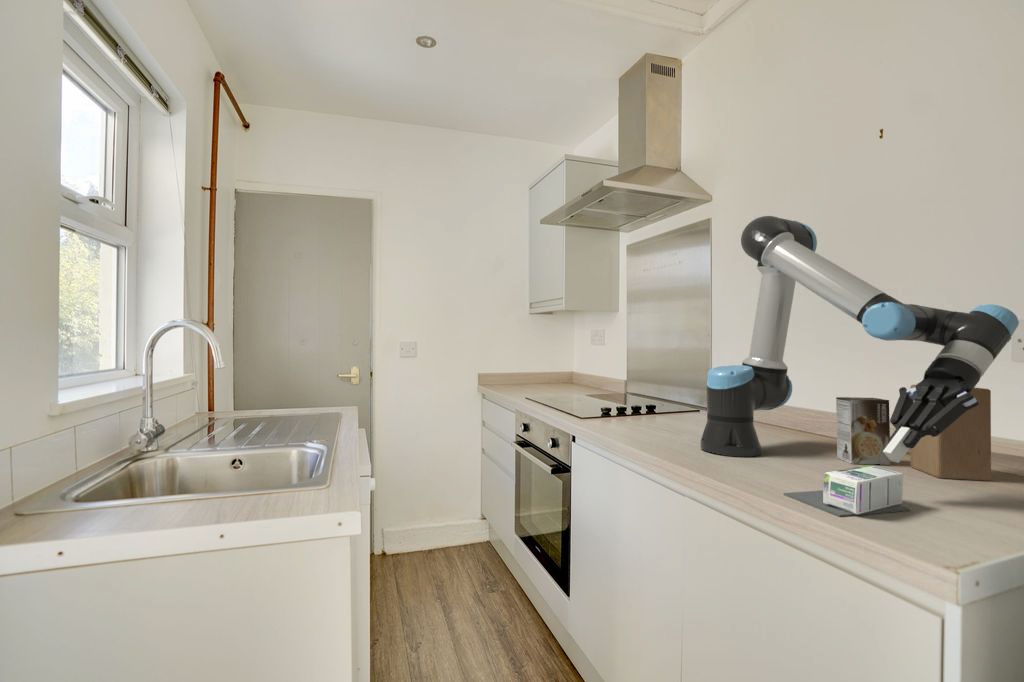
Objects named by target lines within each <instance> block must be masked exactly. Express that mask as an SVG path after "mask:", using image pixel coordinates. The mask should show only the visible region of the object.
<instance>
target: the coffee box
mask: <svg viewBox="0 0 1024 682" xmlns="http://www.w3.org/2000/svg"><path fill="white" fill-rule="evenodd" d="M835 399H836V450H837V451H836V453H837V454H836V457H837V459H838V458H839V459H838V460H840V459H841V461H843V460H844V461H843V462H846V463H848V462H849V463H848V464H850V463H852V464H851V465H875V464H880V466H881V465H883V466H888V465H889V466H890V465H891V461H890V460H889V458H888V457H887V456H886V455H885V454H884V452H883V450H884V449H885V448H886V446H887V445H888V444H889V442H890V440H889V439H890V437H891V432H890V431H891V428H890V427H891V426H890V424H891V422H890V419H891V417H890V399H882V398H877V397H858V396H857V397H856V396H855V397H854V396H853V397H851V396H849V397H848V396H847V397H845V396H844V397H843V396H842V397H841V396H840V397H839V396H836V397H835Z"/></svg>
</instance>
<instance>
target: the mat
mask: <svg viewBox="0 0 1024 682" xmlns="http://www.w3.org/2000/svg"><path fill="white" fill-rule="evenodd" d="M783 496H785V497H788V498H791V499H794V500H796V501H799V502H802V503H804V504H807V505H809V506H811V507H814V508H817V509H819V510H821V511H824V512H827V513H829V514H832V515H834V516H837V517H839V518H841V517H842V518H843V517H853V516H865V514H867V515H876V514H877V513H878V514H888V513H887V512H890V513H897V512H899V511H901V512H910V511H911V509H910V508H908V507H904V506H902V505H900V504H898V505H894V506H890V507H886V508H882V509H878V510H874V511H870V512H866V513H862V514H858V515H857V514H854V513H851V512H848V511H845V510H842V509H839V508H836V507H834V506H831V505H828V504H825V503H823V489H821V490H807V491H796V492H795V491H793V492H784V493H783ZM878 514H877V515H878Z"/></svg>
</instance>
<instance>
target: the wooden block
mask: <svg viewBox="0 0 1024 682" xmlns="http://www.w3.org/2000/svg"><path fill="white" fill-rule="evenodd" d="M916 385H917V384H911V385H910V388H909V389H911V388H915V387H916ZM970 393H971V394H972V395H973V396H974V397H975V399H976V400H977V401H978V403H979V405H977V406H976V407H973V408H971V409H969V410H967V411H966V412H965V413H964V414H962V415H961V416H960V417H959V418H958V419H957V420H955V421H954V422H953V423H952V424H951V425H949V426H948V427H947V428H946V429H945V430H944V431H942V432H941V433H940V434H939V435H938V436H936V437H932V436H931V435H926V436H925V437H922V438H921V439H920V440H919V442H918V443H917V444H916V446H915V447H914V448H910V467H911V468H913V469H915V470H918V471H920V472H922V473H925V474H928V475H930V476H933V477H935V478H937V479H944V478H947V479H948V480H962V479H965V480H967V481H980V480H983V481H984V482H985V481H986V482H990V481H991V480H992V427H991V426H992V417H991V416H992V415H991V414H992V410H991V408H992V401H991V399H992V397H991V396H992V395H991V390H990V389H989V388H982V387H974V389H973V390H972V391H971V392H970ZM914 402H915V400H913V403H914ZM934 428H935V426H934ZM983 481H982V482H983Z"/></svg>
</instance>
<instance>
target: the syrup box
mask: <svg viewBox="0 0 1024 682" xmlns="http://www.w3.org/2000/svg"><path fill="white" fill-rule="evenodd" d="M903 487H904V473H903V472H899V471H895V470H891V469H888V468H884V467H880V466H876V465H872V464H865V465H861V466H860V465H859V466H856V467H850V468H844V469H838V470H833V471H827V472H824V474H823V486H822V490H823V503H825V504H828V505H831V506H834V507H836V508H839V509H842V510H845V511H848V512H851V513H854V514H857V515H856V516H859V515H858V514H862V513H866V512H870V511H874V510H878V509H882V508H886V507H890V506H894V505H901V504H903V492H904V488H903Z"/></svg>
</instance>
